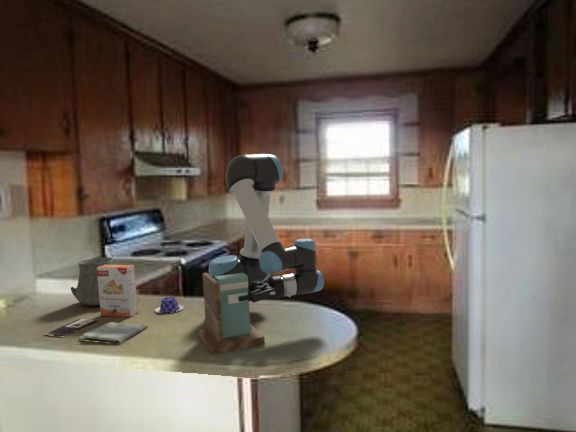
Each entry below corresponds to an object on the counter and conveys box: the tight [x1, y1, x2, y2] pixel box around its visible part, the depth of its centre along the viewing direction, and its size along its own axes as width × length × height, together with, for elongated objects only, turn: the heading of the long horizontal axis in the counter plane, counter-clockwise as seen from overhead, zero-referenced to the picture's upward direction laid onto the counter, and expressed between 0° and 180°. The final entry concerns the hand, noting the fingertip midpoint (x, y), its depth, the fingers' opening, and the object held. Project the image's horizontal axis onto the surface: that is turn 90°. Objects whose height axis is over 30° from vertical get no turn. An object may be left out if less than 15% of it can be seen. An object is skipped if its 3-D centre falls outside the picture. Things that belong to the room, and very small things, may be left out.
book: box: [215, 273, 251, 338], centre depth 159 cm, size 5×10×20 cm, turn 113°
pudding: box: [154, 296, 185, 314], centre depth 199 cm, size 12×12×5 cm
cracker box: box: [97, 264, 139, 318], centre depth 194 cm, size 14×6×21 cm, turn 76°
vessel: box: [70, 256, 114, 307], centre depth 213 cm, size 22×22×20 cm
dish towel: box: [78, 321, 148, 345], centre depth 172 cm, size 19×18×3 cm
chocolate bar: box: [47, 318, 98, 336], centre depth 181 cm, size 9×1×18 cm
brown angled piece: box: [198, 272, 266, 356], centre depth 160 cm, size 18×18×22 cm
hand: (222, 294), depth 157 cm, fingers open, 13 cm apart
